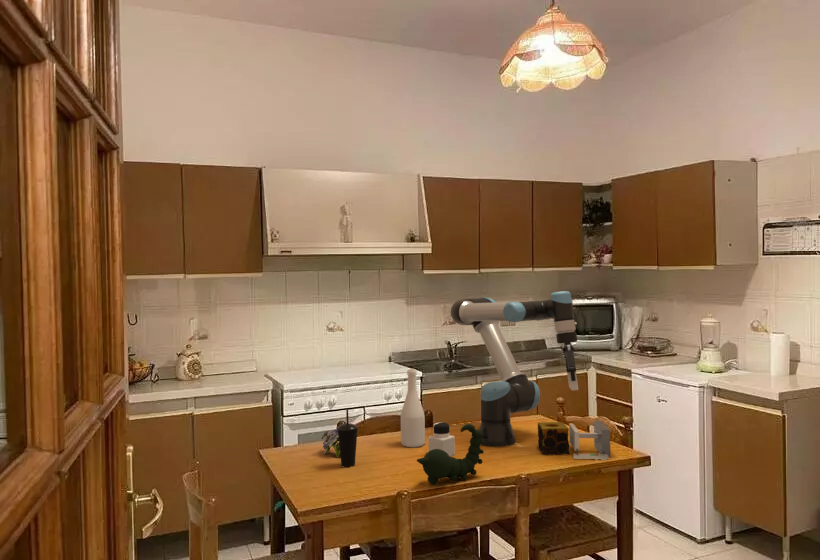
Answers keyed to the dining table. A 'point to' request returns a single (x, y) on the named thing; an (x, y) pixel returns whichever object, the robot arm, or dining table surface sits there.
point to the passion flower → (331, 442)
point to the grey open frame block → (599, 443)
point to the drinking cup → (347, 442)
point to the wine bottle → (412, 415)
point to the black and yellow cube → (553, 438)
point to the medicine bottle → (442, 439)
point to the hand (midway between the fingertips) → (573, 388)
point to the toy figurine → (453, 460)
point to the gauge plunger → (578, 436)
